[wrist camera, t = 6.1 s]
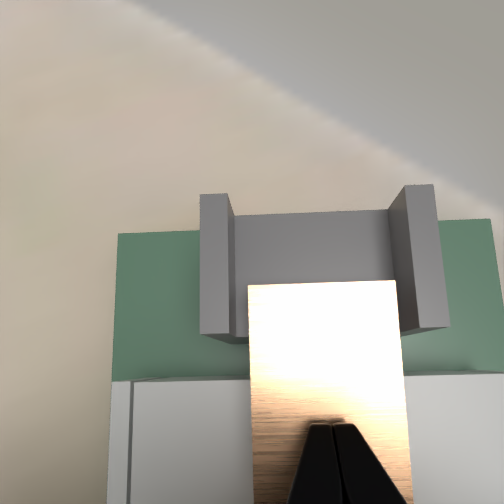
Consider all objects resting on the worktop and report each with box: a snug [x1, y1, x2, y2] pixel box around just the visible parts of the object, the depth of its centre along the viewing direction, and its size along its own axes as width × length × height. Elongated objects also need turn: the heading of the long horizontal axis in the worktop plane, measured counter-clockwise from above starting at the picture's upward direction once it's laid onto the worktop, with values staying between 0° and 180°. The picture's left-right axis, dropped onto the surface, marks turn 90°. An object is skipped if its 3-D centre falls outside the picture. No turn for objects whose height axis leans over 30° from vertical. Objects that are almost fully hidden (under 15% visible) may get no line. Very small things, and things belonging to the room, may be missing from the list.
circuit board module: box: [106, 184, 504, 504], centre depth 12 cm, size 16×13×7 cm
